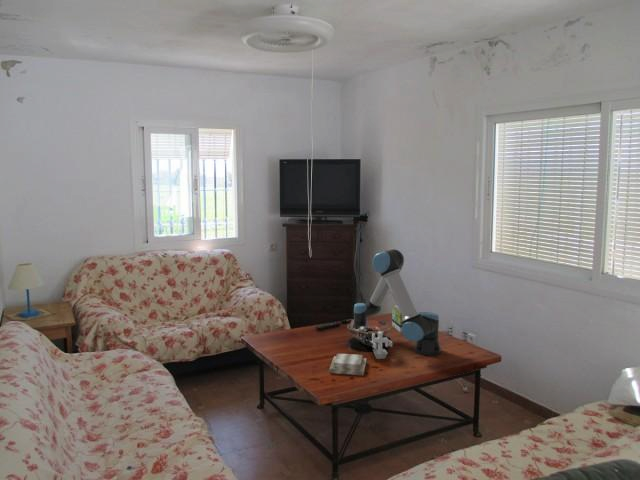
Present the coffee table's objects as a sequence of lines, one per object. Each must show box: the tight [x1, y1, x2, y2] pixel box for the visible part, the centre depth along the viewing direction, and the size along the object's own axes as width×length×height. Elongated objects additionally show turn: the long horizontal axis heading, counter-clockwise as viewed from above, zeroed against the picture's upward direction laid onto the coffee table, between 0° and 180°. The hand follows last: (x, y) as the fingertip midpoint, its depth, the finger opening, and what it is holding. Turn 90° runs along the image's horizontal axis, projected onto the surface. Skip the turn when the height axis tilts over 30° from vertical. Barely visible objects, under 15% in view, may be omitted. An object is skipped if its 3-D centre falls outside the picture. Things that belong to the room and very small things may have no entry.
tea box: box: [391, 304, 403, 333], centre depth 344 cm, size 15×10×15 cm, turn 14°
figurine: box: [372, 330, 389, 360], centre depth 293 cm, size 7×9×15 cm
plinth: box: [328, 353, 367, 376], centre depth 279 cm, size 18×18×5 cm
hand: (383, 345), depth 288 cm, fingers closed on figurine, 9 cm apart
